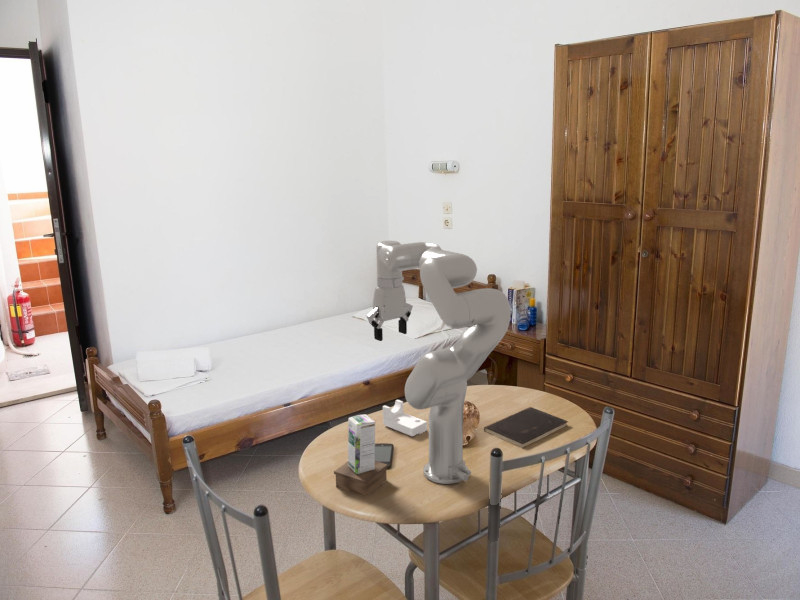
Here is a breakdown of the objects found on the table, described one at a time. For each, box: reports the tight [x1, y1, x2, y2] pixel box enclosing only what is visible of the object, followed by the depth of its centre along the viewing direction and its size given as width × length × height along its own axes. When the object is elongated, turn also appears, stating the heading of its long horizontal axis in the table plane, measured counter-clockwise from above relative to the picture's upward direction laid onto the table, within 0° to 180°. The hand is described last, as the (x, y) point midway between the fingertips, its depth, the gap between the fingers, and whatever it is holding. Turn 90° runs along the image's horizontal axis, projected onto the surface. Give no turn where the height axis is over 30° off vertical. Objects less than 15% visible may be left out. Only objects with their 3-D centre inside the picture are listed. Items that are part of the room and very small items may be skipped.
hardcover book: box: [483, 406, 569, 449], centre depth 205 cm, size 16×23×2 cm
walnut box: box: [333, 460, 389, 498], centre depth 174 cm, size 11×11×5 cm
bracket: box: [382, 399, 428, 437], centre depth 206 cm, size 13×7×8 cm, turn 47°
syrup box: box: [347, 414, 376, 474], centre depth 172 cm, size 6×6×14 cm
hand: (390, 336), depth 194 cm, fingers open, 9 cm apart
